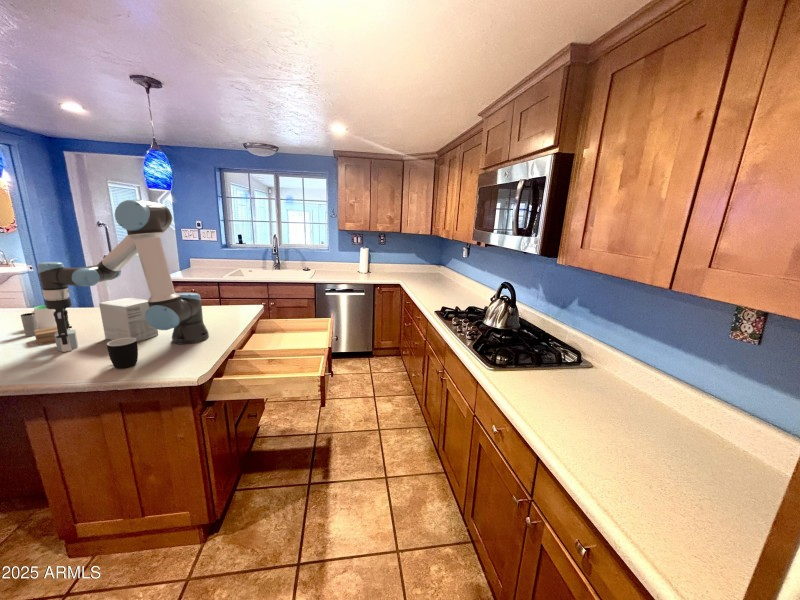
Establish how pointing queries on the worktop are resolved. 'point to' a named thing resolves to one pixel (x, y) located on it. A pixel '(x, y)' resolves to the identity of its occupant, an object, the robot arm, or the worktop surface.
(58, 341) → the slate block
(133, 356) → the mug
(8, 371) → the worktop surface
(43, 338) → the walnut block
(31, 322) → the grey tall cylinder
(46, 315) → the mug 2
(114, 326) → the supplement box
